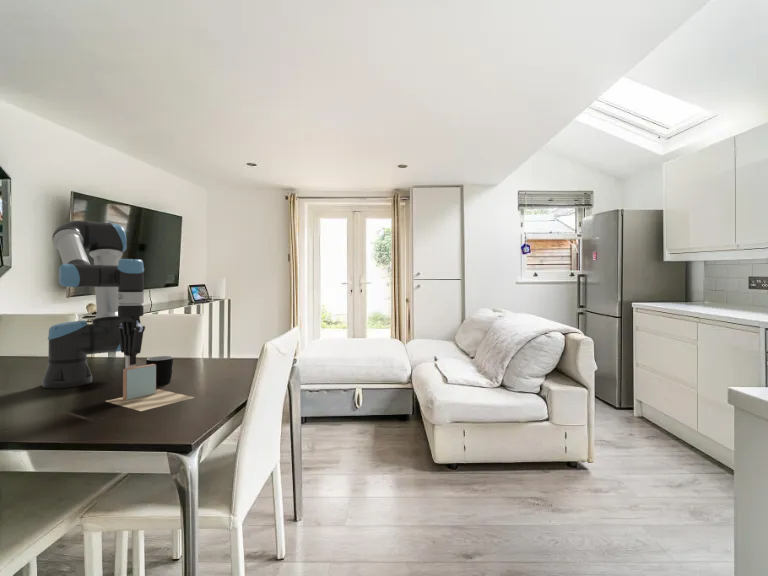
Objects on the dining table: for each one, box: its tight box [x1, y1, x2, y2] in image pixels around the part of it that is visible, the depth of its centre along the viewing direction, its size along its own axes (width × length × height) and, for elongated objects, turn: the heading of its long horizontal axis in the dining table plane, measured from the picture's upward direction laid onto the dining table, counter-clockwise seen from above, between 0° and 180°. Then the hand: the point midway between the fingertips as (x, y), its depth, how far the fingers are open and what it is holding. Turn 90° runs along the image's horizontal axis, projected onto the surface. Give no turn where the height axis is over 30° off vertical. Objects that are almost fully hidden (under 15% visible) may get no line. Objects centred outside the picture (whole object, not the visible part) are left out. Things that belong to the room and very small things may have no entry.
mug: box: [145, 355, 174, 386], centre depth 162 cm, size 12×9×10 cm
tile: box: [122, 364, 157, 400], centre depth 142 cm, size 2×10×10 cm, turn 150°
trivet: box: [104, 389, 196, 412], centre depth 139 cm, size 20×18×1 cm
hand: (130, 374), depth 145 cm, fingers closed
